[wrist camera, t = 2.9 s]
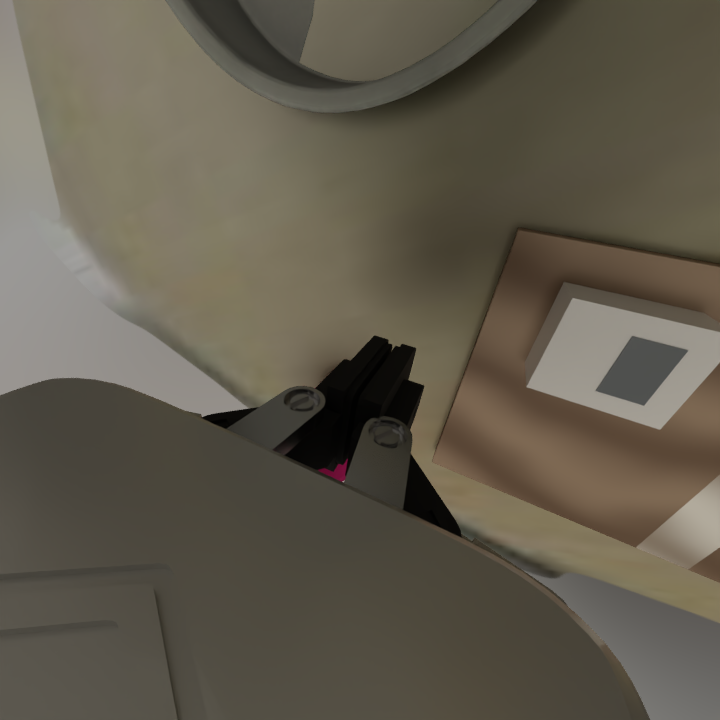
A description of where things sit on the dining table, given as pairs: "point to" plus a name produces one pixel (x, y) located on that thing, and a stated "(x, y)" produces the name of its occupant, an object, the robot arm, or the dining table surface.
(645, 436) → the brown flat board
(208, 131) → the dining table surface
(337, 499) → the robot arm
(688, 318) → the block
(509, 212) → the dining table surface
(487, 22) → the cake pan
